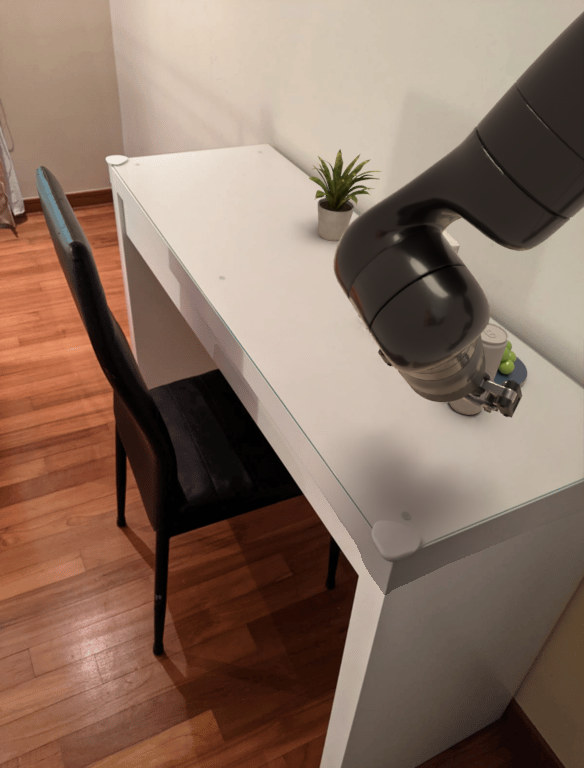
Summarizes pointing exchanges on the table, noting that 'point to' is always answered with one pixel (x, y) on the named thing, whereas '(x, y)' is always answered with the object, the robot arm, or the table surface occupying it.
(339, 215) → the house plant
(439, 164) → the robot arm
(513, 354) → the grapes
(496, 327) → the beverage can
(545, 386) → the table surface
